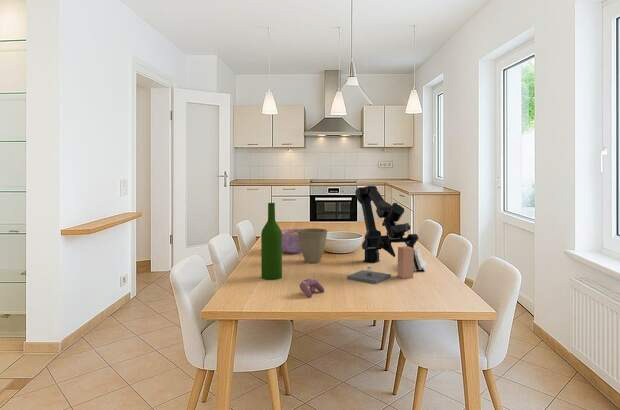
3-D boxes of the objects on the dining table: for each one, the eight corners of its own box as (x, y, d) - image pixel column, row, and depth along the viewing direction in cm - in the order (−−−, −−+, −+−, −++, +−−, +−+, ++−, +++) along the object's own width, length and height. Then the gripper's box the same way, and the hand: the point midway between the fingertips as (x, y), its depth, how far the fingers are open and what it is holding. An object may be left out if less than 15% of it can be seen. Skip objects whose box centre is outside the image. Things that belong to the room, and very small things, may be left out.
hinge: (425, 272, 220) (418, 251, 220) (415, 274, 221) (408, 254, 221) (426, 264, 236) (420, 245, 236) (417, 267, 237) (411, 247, 237)
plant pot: (326, 258, 249) (326, 228, 247) (328, 264, 234) (328, 232, 233) (297, 258, 248) (297, 228, 247) (297, 264, 234) (297, 232, 232)
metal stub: (366, 275, 208) (366, 267, 208) (368, 274, 210) (368, 267, 209) (370, 275, 207) (370, 268, 207) (372, 275, 209) (372, 267, 208)
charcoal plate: (347, 278, 207) (347, 276, 207) (362, 272, 218) (362, 269, 218) (376, 283, 199) (376, 280, 199) (390, 276, 210) (390, 274, 210)
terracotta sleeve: (397, 275, 212) (398, 246, 211) (407, 275, 214) (408, 246, 213) (403, 278, 208) (403, 248, 206) (413, 277, 209) (413, 248, 208)
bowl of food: (278, 248, 276) (278, 228, 275) (313, 249, 274) (313, 229, 273) (272, 255, 256) (272, 234, 255) (309, 256, 254) (310, 234, 253)
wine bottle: (272, 273, 215) (272, 201, 212) (286, 277, 209) (286, 203, 206) (257, 277, 209) (256, 202, 206) (270, 281, 202) (270, 204, 199)
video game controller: (317, 294, 188) (310, 277, 189) (325, 291, 186) (319, 274, 187) (302, 300, 180) (295, 283, 181) (311, 297, 177) (304, 279, 179)
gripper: (379, 217, 212) (391, 246, 202) (416, 216, 218) (429, 244, 208) (371, 232, 220) (382, 261, 210) (407, 231, 226) (419, 258, 216)
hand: (404, 255), depth 211 cm, fingers open, 9 cm apart
